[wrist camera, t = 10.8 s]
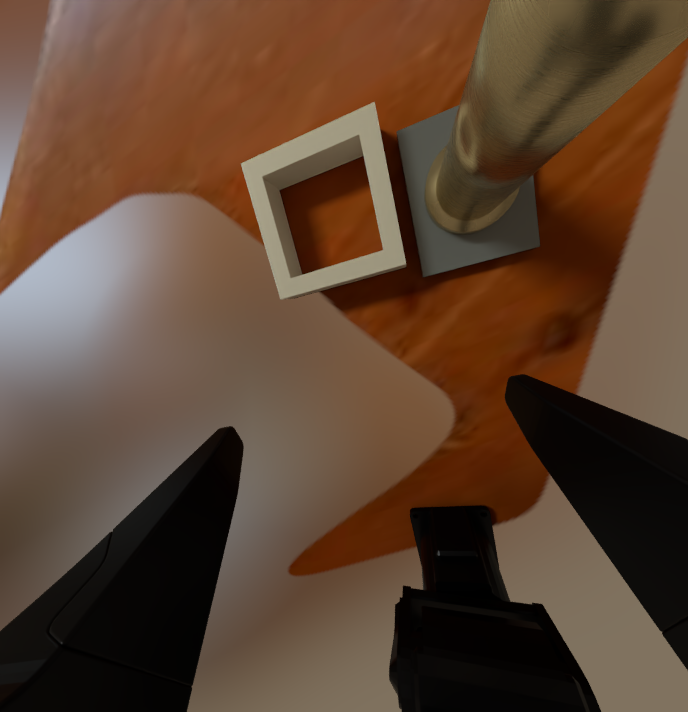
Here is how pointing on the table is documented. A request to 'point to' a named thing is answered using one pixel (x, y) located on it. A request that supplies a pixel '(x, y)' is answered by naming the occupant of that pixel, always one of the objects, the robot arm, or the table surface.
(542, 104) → the light bulb
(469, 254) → the slate pad
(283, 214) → the socket
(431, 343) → the table surface
